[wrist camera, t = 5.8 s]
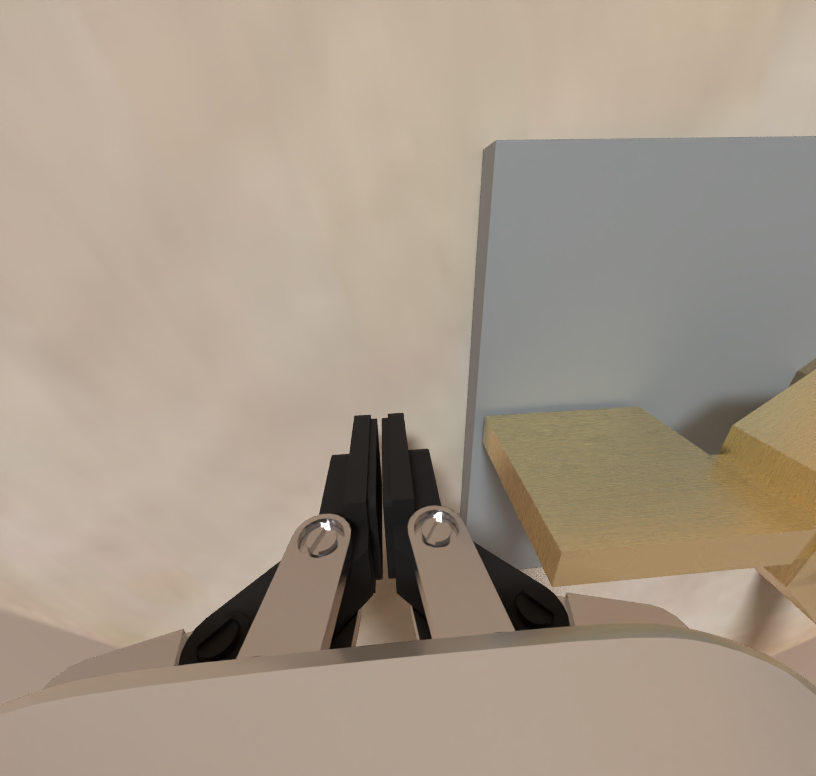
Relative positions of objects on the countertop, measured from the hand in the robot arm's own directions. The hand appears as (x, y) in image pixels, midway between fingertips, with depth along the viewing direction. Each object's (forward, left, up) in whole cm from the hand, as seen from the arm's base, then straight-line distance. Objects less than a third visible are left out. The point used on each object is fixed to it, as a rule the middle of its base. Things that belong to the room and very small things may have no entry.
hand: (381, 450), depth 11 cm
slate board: (-17, 0, -2) cm, 17 cm away
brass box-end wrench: (-11, 0, -1) cm, 11 cm away
